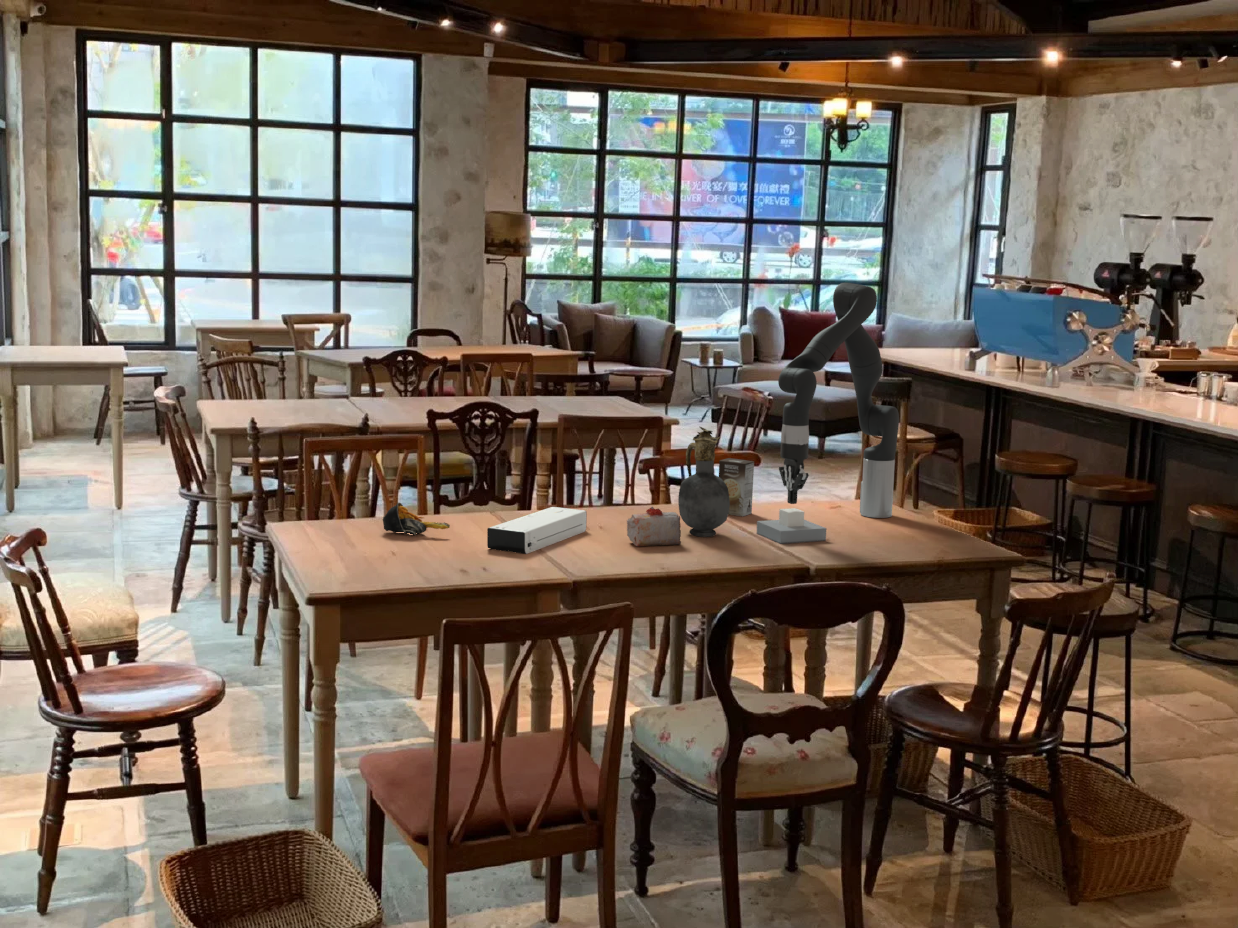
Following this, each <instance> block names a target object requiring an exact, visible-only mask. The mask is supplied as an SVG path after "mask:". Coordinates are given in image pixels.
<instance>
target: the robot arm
mask: <svg viewBox="0 0 1238 928" xmlns="http://www.w3.org/2000/svg"><path fill="white" fill-rule="evenodd" d="M832 302H833V305H832V306H833V309H834V313H835V316H836V318H837V319H836V320H837V321H836V322H835V323H833V324H831V325H830V326H828V327H826V328H824V329H822V330H821V331H819V332H818V333H817V334H815V336H813V337H812V339H811V340H810V342H809V343H808V344H807V346H806V347H805V348H804V350H803V351H802V352H801V353H800V354H799V355H797V356H796V357H795V358H794V359H793V360H791V361H790V362H789V363H788V364H786V365H785V366H784V368H782V370H781V371H780V373H779V376H778V386H779V387H778V388H779V389H780V390H781V392H783V393H784V392H785V393H787V394H794V395H795V398H794V400H793V401H792V402H791V401H790V402H786V403H785V404H784V406H783V409H782V411H783V412H782V427H781V432H780V433H781V435H780V455H779V456H780V458H781V459H783V465H782V466H778V471H779V474H780V478H781V481H782V485H783V486H784V487H785V488H786V490H787V499H786V501H787V504H791V505H796V504H797V503H798V491H800V490H803V488H804V486H805V484H806V483H807V480H808V478H809V476H810V475H809V473H808V472H806V471H805V470H804V469H805V463H804V461H805V460H806V459H808V458H809V444H810V429H809V423H810V422H809V421H810V420H809V419H810V409H811V406H812V403H813V399H814V396H815V393H816V389H817V384H818V383H817V377H816V374H815V373H816V372H819V371H822V369H823V368H824V367H825V365H827V363H828V362H829V360H830V359H831V358H832V356H833V355H834V353H836V351H837V350H838V348H839V347H840V346H841V345H842V344H843V343H844V345H845V349H846V354H847V360H848V365H849V371H850V374H851V378H852V381H853V386H854V391H855V398H856V404H857V405H856V406H857V416H858V422H859V427H860V430H861V431H862V433H863V434H865V435H868V436H873V437H881V440H880V442H879V443H878V444H876V445H872V446H870V447H866V448H865V449H864V450H863V459H862V461H863V462H862V481H861V482H860V494H859V495H860V496H859V497H860V499H859V500H860V501H859V513H860V515H861V516H863V517H868V518H875V519H876V518H878V519H881V518H882V519H883V518H884V519H885V518H891V517H892V516H893V504H894V503H893V500H894V499H893V498H894V483H895V465H896V464H895V463H896V460H895V458H896V451H897V447H898V445H897V443H898V434H899V427H900V426H899V425H900V414H899V411H898V409H897V408H896V406H891V405H881V404H875V403H874V402H873V396H872V394H873V392H874V390H875V387H876V386H877V384H878V382H879V380H880V379H881V377H882V374H883V369H884V368H883V363H882V362H883V361H882V356H881V352H880V349H879V346H878V345H877V343H876V341H875V340H874V339H873V338H872V336H871V334H869V333H868V331H867V330H866V329H865V328H864V326H863V325H862V324H864V322H866V320H868V319H869V317H870V316H872V314H873V312H874V311H875V309H876V307H877V304H878V303H877V302H878V295H877V291H876V290H875V288H873V287H872V286H869V285H863V284H858V283H853V282H842V283H840V284H838V285H836V287H835V288H834V291H833V296H832Z"/></svg>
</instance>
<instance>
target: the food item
mask: <svg viewBox="0 0 1238 928" xmlns="http://www.w3.org/2000/svg"><path fill="white" fill-rule="evenodd" d="M626 524H627V525H626V531H627V532H626V536H627V537H628V539H629V541H630V542H632V544H633V545H634V546H635V547H652V546H653V547H655V546H657V547H658V546H679V545H681V544H682V541H681V537H682V536H681V535H682V533H681V527H682V526H681V516H680V515H679V514H678V513H677V512H675V511H668V512H663V511H661V509H660V508H654V506H651V507H649V508H648V509H646V511H645V513H636V514H635V513H634V514H631V517H630V518H628V519H627V520H626Z"/></svg>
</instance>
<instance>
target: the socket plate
mask: <svg viewBox="0 0 1238 928" xmlns="http://www.w3.org/2000/svg"><path fill="white" fill-rule="evenodd" d="M756 534H757V535H758V536H761V537H764V538H765V539H768V540H771V541H772V542H775V543H777V544H780V545H786V544H797V543H813V542H826V540H827V527H826V526H825V527H824V526H821V525H820V524H816V523H814V522H811V521H809V520H807V519H804V526H794V527H787V526H784V525H782V524H779V519H770V520H757V521H756Z"/></svg>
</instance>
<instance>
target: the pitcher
mask: <svg viewBox="0 0 1238 928" xmlns="http://www.w3.org/2000/svg"><path fill="white" fill-rule="evenodd" d="M699 428H700V429H701V431H700V432H698V431H697V434H696V435H695V436H693V437H692V440H693V442H691V443H689V444H688V446H687V448H686V451H685V461H686V463H685V464H686V468H687V473H688V477H686V478H685V479H683V480H682V482H681V483H680V486H679V489H678V498H677V499H678V511H679V516H680V519H681V520H682V521H683V523H684V524H685V525H686V526H687V527H689V528H690V530H689V535H691V536H694V537H700V538H709V537H714V536H716V534H717V531H716V530H715V529H717V528H718V527H720V526H722V525H723V524H724V523H726V521H727V519H728V517H729V514H728V513H729V506H730V499H729V491H728V487H727V485H726V484H725V482H724V481H723V480H722V479H721V478H720V477H719V475H716V474H714V472H715V471H714V465H715V457H716V453H715V451H716V445H717V443H718V441H720V439H721V437H720V436H718V437H715V436H712V435H713V431H712V430H709V429H706V428H704V427H702V426H699ZM693 450H694V460H695V473H694V474H692V462H691V456H692V451H693Z"/></svg>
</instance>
